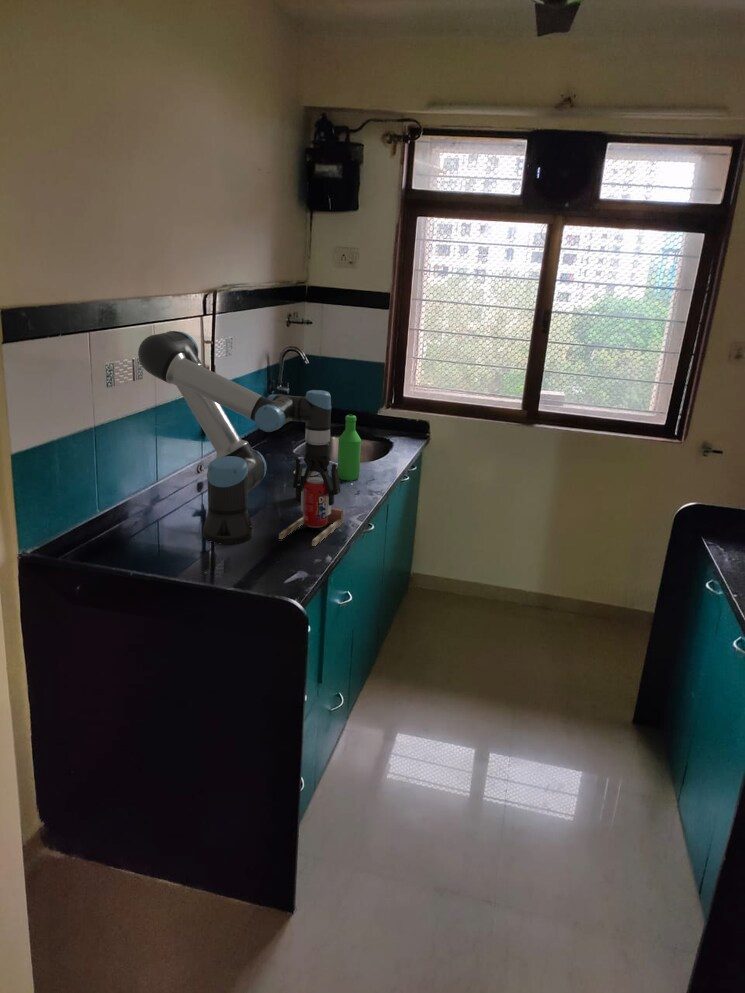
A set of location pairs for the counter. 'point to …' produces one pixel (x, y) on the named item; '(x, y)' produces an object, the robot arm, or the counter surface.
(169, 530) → the counter surface
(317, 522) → the soda can
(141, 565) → the counter surface
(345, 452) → the bottle
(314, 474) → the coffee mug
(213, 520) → the robot arm
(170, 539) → the counter surface
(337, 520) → the guide track
